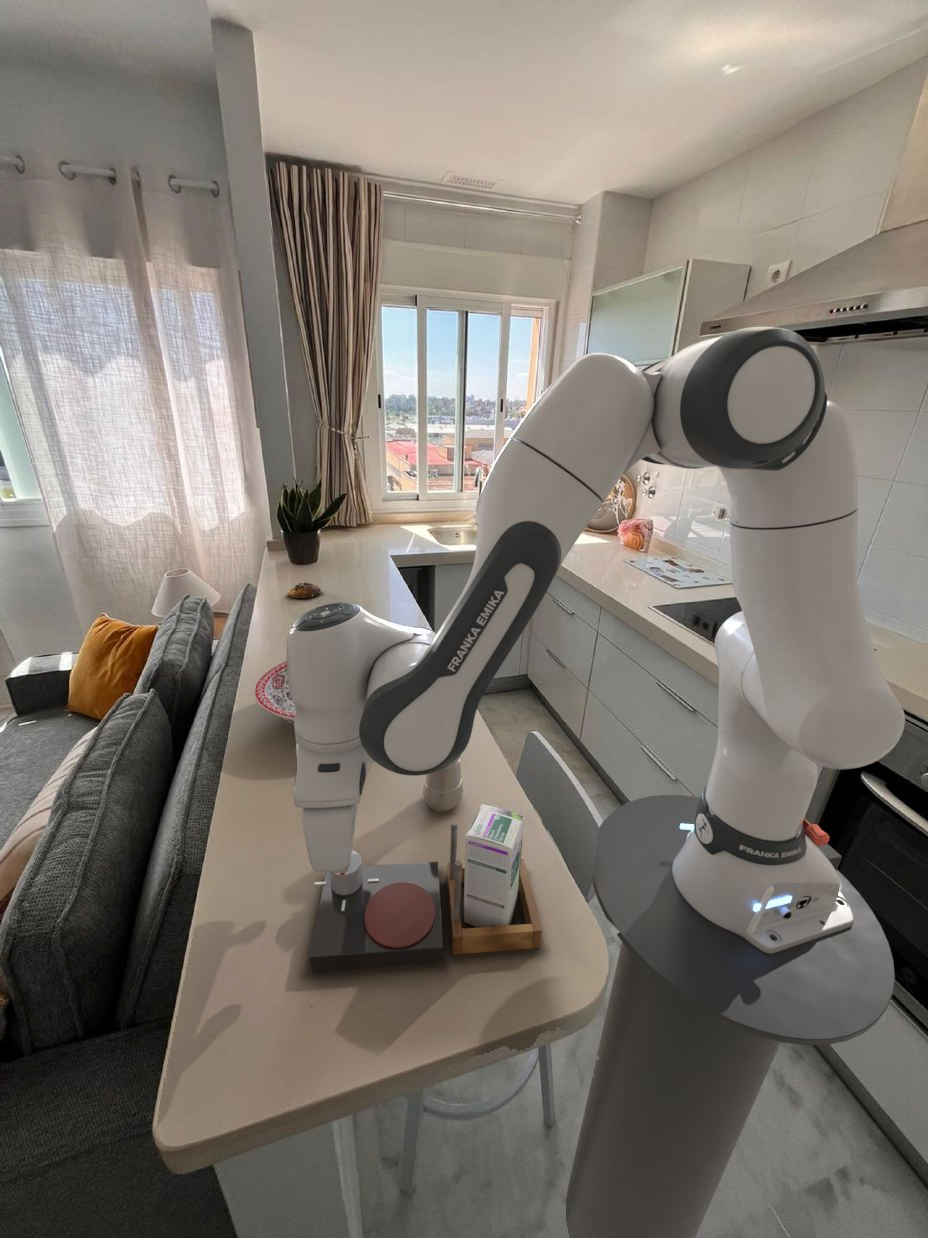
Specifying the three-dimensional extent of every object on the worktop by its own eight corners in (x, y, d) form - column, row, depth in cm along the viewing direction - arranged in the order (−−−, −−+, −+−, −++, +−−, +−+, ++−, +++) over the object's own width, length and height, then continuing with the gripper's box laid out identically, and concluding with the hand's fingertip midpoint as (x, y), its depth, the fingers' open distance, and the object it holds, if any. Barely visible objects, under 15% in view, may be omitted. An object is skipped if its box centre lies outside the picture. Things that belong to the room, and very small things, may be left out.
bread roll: (321, 597, 173) (318, 584, 171) (288, 603, 170) (285, 590, 168) (321, 589, 183) (318, 576, 181) (290, 594, 180) (287, 581, 179)
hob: (437, 865, 70) (437, 851, 69) (442, 962, 58) (443, 946, 57) (321, 872, 69) (319, 857, 68) (301, 973, 56) (298, 957, 55)
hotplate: (433, 881, 65) (433, 880, 65) (437, 946, 57) (437, 944, 57) (367, 885, 64) (367, 884, 64) (361, 951, 56) (361, 950, 56)
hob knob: (334, 869, 66) (332, 847, 65) (364, 869, 66) (363, 847, 65) (327, 896, 62) (325, 873, 61) (359, 895, 62) (358, 873, 61)
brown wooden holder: (521, 874, 69) (528, 807, 65) (539, 948, 60) (549, 874, 55) (447, 879, 68) (449, 810, 64) (453, 955, 58) (455, 880, 54)
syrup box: (506, 939, 60) (514, 849, 55) (461, 922, 62) (465, 834, 57) (517, 900, 65) (526, 814, 60) (475, 886, 67) (480, 801, 62)
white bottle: (470, 806, 81) (475, 701, 74) (435, 823, 78) (436, 714, 70) (449, 784, 86) (452, 683, 79) (415, 798, 82) (414, 694, 75)
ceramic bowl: (279, 681, 117) (275, 651, 115) (402, 679, 120) (402, 650, 117) (238, 758, 91) (232, 721, 88) (398, 754, 93) (398, 718, 90)
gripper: (323, 696, 65) (332, 781, 71) (288, 808, 47) (303, 912, 52) (372, 695, 66) (377, 779, 71) (356, 804, 47) (365, 907, 52)
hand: (346, 836), depth 61 cm, fingers open, 8 cm apart
